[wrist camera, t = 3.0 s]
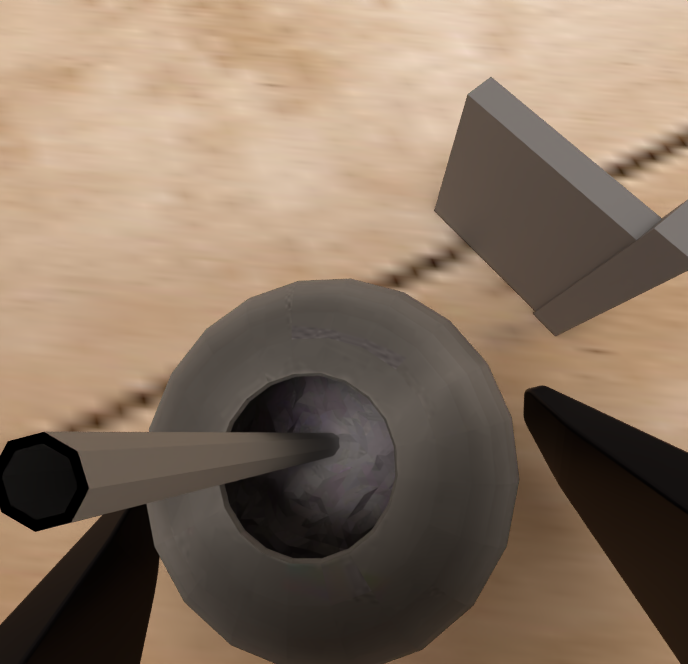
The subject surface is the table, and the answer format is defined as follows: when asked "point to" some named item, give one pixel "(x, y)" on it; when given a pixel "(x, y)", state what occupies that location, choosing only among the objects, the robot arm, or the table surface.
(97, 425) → the table surface
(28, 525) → the beverage cup
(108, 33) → the table surface
